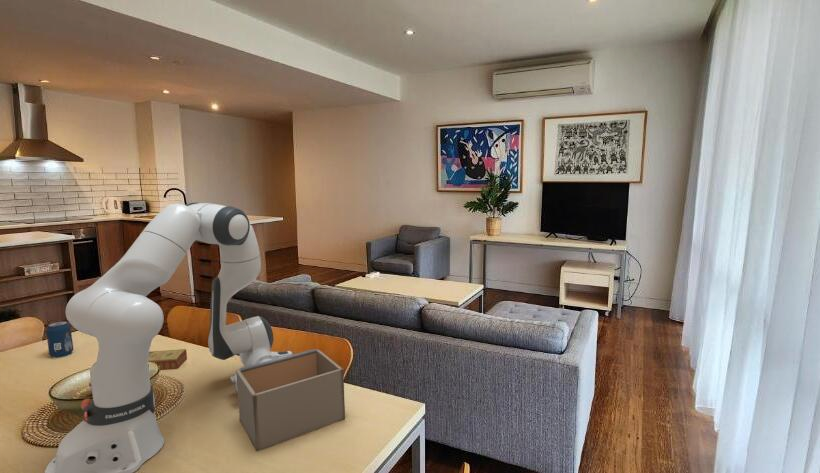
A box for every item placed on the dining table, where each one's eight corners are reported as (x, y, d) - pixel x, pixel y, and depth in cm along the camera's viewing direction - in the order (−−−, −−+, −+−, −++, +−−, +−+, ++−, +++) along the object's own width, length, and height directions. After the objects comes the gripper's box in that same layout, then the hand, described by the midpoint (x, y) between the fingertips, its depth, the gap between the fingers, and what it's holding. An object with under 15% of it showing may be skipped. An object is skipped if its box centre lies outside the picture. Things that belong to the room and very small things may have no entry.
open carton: (256, 451, 100) (253, 396, 98) (239, 420, 113) (236, 370, 111) (345, 418, 113) (343, 369, 111) (320, 394, 126) (318, 349, 124)
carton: (178, 370, 143) (176, 358, 143) (127, 373, 141) (125, 361, 141) (187, 359, 152) (186, 348, 151) (139, 362, 150) (138, 351, 149)
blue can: (53, 352, 158) (49, 322, 156) (76, 349, 161) (72, 319, 159) (46, 360, 152) (42, 328, 150) (70, 356, 155) (66, 324, 153)
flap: (244, 417, 112) (241, 368, 110) (243, 415, 113) (240, 367, 111) (318, 393, 124) (316, 349, 122) (316, 392, 125) (314, 348, 123)
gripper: (228, 366, 124) (240, 384, 113) (295, 349, 136) (312, 364, 125) (229, 386, 125) (241, 406, 114) (296, 368, 137) (313, 384, 126)
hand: (279, 384), depth 120 cm, fingers closed
